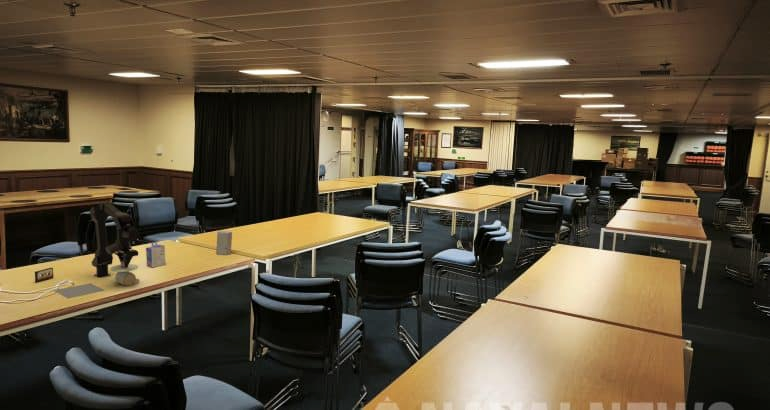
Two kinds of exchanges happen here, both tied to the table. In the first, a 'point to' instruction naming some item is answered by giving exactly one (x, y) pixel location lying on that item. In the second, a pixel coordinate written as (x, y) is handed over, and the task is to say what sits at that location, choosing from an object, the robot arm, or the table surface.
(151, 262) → the ink cartridge box
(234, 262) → the table surface
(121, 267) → the round lid
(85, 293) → the rubber mat
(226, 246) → the skincare box
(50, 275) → the audio cassette
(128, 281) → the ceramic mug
